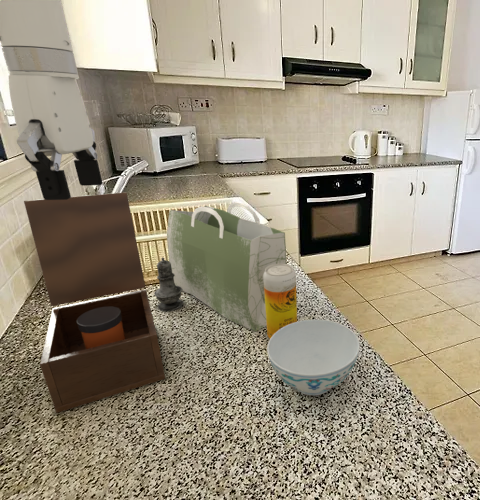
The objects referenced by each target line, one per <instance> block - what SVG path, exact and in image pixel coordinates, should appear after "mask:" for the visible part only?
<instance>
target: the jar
mask: <svg viewBox="0 0 480 500" xmlns="http://www.w3.org/2000/svg"><path fill="white" fill-rule="evenodd" d="M77 325H78V328H79V330H80V331H81V334H82V338H83V342H84V345H85V349H89V348H93V347H97V346H101V345H104V344H108V343H112V342H116V341H120V340H124V339H126V337H125V333H124V328H123V324H122V315H121V311H120V309H119V308H117V307H110V306H109V307H100V308H96V309H92V310H90V311H87V312H85V313H83V314H82V315H81V316H79V317H78V319H77Z"/></svg>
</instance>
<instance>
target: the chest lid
mask: <svg viewBox="0 0 480 500" xmlns="http://www.w3.org/2000/svg"><path fill="white" fill-rule="evenodd" d="M23 203H24V207H25V212H26V215H27V219H28V222H29V226H30V230H31V234H32V239H33V243H34V246H35V249H36V250H35V251H36V254H37V257H38V260H39V266H40V269H41V271H42V272H41V273H42V276H43V279H44V280H43V281H44V284H45V287H46V291H47V295H48V299H49V303H50V307H55V306H56V307H57V306H62V305H65V304H72V303H75V302H76V303H77V302H80V301H81V302H82V301H85V300H86V301H87V300H92V299H97V298H102V297H107V296H110V295H111V296H112V295H115V294H116V295H117V294H120V293H121V294H122V293H127V292H132V291H137V290H142V289H146V282H145V278H144V271H143V268H142V262H141V257H140V251H139V247H138V242H137V237H136V232H135V227H134V222H133V217H132V213H131V206H130V201H129V197H128V193H127V192H126V191H123V192H112V193H100V194H89V195H76V196H71V198H69V199H67V200H45V199H44V198H41V199H40V198H39V199H29V200H23Z"/></svg>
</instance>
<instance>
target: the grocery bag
mask: <svg viewBox="0 0 480 500" xmlns="http://www.w3.org/2000/svg"><path fill="white" fill-rule="evenodd" d="M235 207H239V208H243V209H245V210H246V211H248V213H250V214H251V215H252V218H253V219H254V221H252V220H249V219H245V218H242V217H239V216H237V215H235V214H232V213H231V212H232V209H233V208H235ZM166 242H167V251H168V252H167V254H168V261H169V262H170V263H171V267H172V273H174V275H175V276H174V283H175V285H176V286H180V287H181V288H182V289H183V290H182V292H184V293H187V294H189V295H192V296H193V297H195V298H196V299H197V300H199V301H201V302H202V303H203V304H205V305H206V306H208V307H209V308H211V309H212V310H213V311H215V312H216V313H218V314H219V315H221V316H222V317H224V318H225V319H226V320H228V321H231V322H233V323H235V324H237V325H240V326H242V327H244V328H246V329H249V330H251V331H254V332H258V331H259V330H261V329H263V328H264V327H267V323H266V308H265V293H264V279H263V275H264V272H265V269H266V268H267V267H268V266H270V265H273V264H287V245H286V244H287V243H286V232H284V231H282V230H279V229H276V228H274V227H271V226H268V225H266V224H264V223H261V221H260V217H259V216H258V215H257V213H256V211H254V210H253V209H252V208H251V206H249V205H247V204H245V203H242V202H237V201H233V202H231V203H230V204H229V205H228V206H227V209H226V210H223V209H220V208H217V207H213V206H208V205H204V206H201V205H200V206H198V207H196V208H194V210H193V211H187V210H186V211H185V210H175V209H169V211H168V219H167V229H166Z"/></svg>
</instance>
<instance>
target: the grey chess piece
mask: <svg viewBox="0 0 480 500" xmlns="http://www.w3.org/2000/svg"><path fill="white" fill-rule="evenodd" d="M156 269H157V276H156V279H157V280H158V281H159V282H158V283H159V288H158V289H156V290H155V291H154V293H153V294H154V295H153V296H154V297H156V299H157V301H158V302H159V304H158V306H157V308H158V310H159V311H162V312H168V311H174V310H177V309H179V308H181V307H182V306H183V305H184V301H183V300H182V299H180V298H181V296H182V292H183V291H182V290H183V289H182V288H181V287H180V286H176V285H175V283H174V276H175V275H174V273H172V267H171V263H170V262H169V260H167V259H166V260H165V258H164V257H161V259H160V261H159V262H157V264H156Z"/></svg>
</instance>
